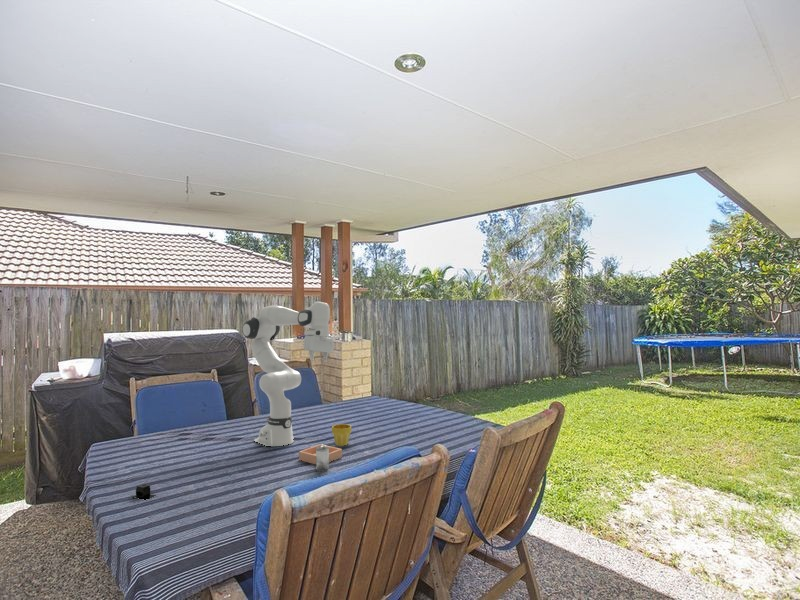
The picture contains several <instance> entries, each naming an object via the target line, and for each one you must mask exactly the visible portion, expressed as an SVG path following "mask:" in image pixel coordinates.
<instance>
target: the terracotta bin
mask: <svg viewBox="0 0 800 600" xmlns="http://www.w3.org/2000/svg"><path fill="white" fill-rule="evenodd" d="M320 445H324V446H325V444H323V443H322V444H320V443H319V444H318V445H317V444H316V445H314V446H311V447H308V448H305V449H302V450H300V451H298V460H299V461H301V460H302V461H301V462H305V463H309V464H313V465H316V448H317V447H320ZM326 446H327V447H329V463H331V461H332V462H334V461H336V459H337V460H338V458H339V459H341V458H343V449H342V448H338V447H335V446H329V445H326ZM333 460H334V461H333Z"/></svg>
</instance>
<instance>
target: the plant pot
mask: <svg viewBox="0 0 800 600" xmlns="http://www.w3.org/2000/svg"><path fill="white" fill-rule="evenodd" d="M331 433H332V434H333V439H334V443H335V446H336V445H338V446H337V447H345V446H344V445H346V446H348V445H349V441H350V435H351V433H352V425H351V424H347V423H340V424H339V423H338V424H334V425H332V426H331ZM347 444H348V445H347Z"/></svg>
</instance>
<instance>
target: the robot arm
mask: <svg viewBox="0 0 800 600" xmlns="http://www.w3.org/2000/svg"><path fill="white" fill-rule="evenodd" d="M330 317H331V309H330V305H329V304H328V303H327V302H323V301H315V302H313V304H312V305H311V306H308V307H307V308H304V309H301V310H300V311H296V310H293V309H291V308H288V307H285V306H281V305H267V306H264V307H263V308H261V309H260V310H259V314H258V317H251V318H250V319H249V320H247V321H245V322H244V324H243V325H242V327H241V328H242V330H241V333H242V335H243V336H244V337H245V338H246V339H248V340H252V341H251V343H250V349H251V352H252V355H253V356H254V358H255V361H256V362H257V363H258V365H259V367H260V369H261V370H262V371H263V372H265V374H263V375H261V377H260V378H259V388H260V390H261V391H262V392H263V393H265V395H266V396H267V398H268V401H269V409H270V410H269V414H270V415H269V417H268V418H267V419H266V421H267V423H266V425H263V427H262V428H261V429H259V432H258V437H257V438H255V439H254V440H253V442H254V441H255V443H256V442H258V443H257V444H259V443H260V444H259V445H261V444H263V445H262V446H264V445H265V446H264V447H266V446H271V447H283V445H284V446H288V444H289V445H291V444H293V443H294V440H293V439H295V437H294V433H293V425H292V423H293V417H292V416H293V415H292V401H291V400H290V399H289V398H287V397H286V396H285V391H290V390H293V389H296V388H298V387H299V386H300V385H301V383H302V375H301V373H300V372H299V371H298V370H295V369H293V368H292V367H290V366H288V364H287V363H285V362H284V361H282V360H281V358H280V357H279V356H278V354H277V352H276V351H275V350H274V348H273V346H272V345H271V341H273V340H275V339H276V337H277V335H279V333H280V331H281V326H294V325H295V326H296V325H299V326H301V327H303V328H307V329H308V330H305V331H304V339H303V350H304V351H307V352H308V355H309V358H310V359H309V360H310V361H315V360H316V357H315V352H316V353H323V357H322V358H321V361H322V362H327V361H328V360H327V359H328V357H329V354H332V353H333V352H334V351H335V350H334V349H335V347H334V339H333V337H332V335H331V334H330V323H331V318H330Z"/></svg>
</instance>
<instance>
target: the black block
mask: <svg viewBox="0 0 800 600" xmlns="http://www.w3.org/2000/svg"><path fill="white" fill-rule="evenodd" d="M135 494H136V495H134V494H133V495H134V496H132V495H130V496H131V497H136V498H139V499H144V500H146V499H149V500H151V499H152V497H153V498H155V497H154V496H156V495H157V494H153V493H151V485H150V484H146V483H142V484H139V485H136V488H135ZM156 497H157V496H156ZM150 498H151V499H150ZM139 499H138V500H139ZM144 500H143V501H144ZM146 501H147V500H146Z"/></svg>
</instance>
